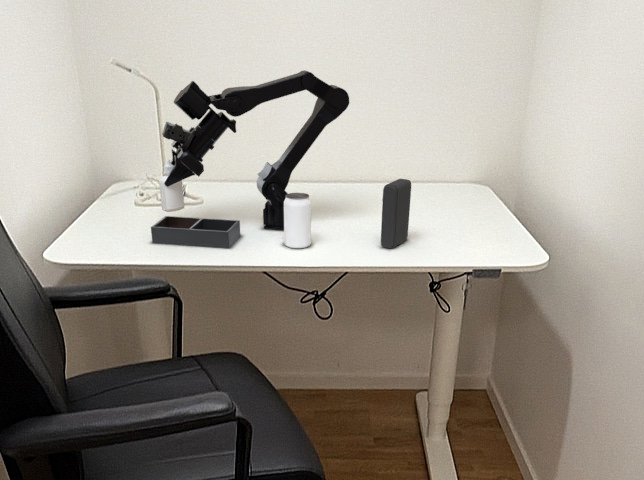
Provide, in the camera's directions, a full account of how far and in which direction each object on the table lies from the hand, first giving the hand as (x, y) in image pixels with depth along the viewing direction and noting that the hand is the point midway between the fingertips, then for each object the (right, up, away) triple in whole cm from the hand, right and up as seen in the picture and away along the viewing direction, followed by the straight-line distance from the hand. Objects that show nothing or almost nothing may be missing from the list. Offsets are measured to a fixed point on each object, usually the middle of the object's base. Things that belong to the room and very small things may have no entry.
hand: (164, 183), depth 180 cm
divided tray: (+7, -13, +3) cm, 15 cm away
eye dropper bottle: (+1, -6, +4) cm, 7 cm away
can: (+32, -15, 0) cm, 36 cm away
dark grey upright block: (+56, -15, +2) cm, 58 cm away
